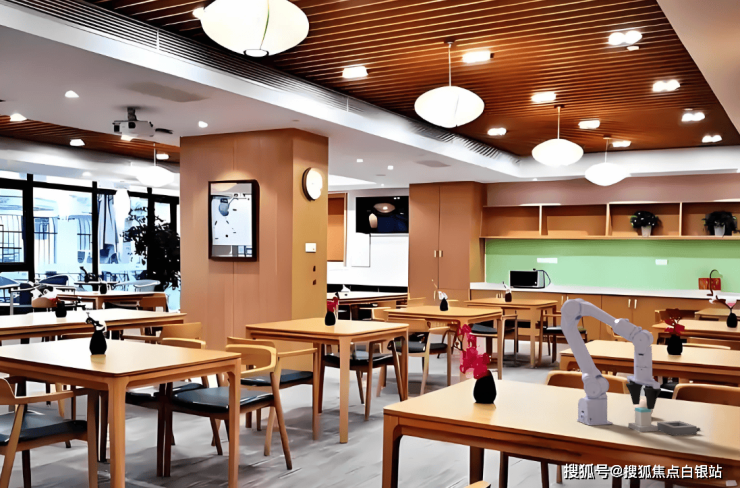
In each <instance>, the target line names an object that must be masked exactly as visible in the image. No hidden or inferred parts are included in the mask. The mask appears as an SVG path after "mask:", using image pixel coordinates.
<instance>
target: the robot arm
mask: <svg viewBox="0 0 740 488" xmlns="http://www.w3.org/2000/svg"><path fill="white" fill-rule="evenodd" d="M560 313H561V314H560V315H561V316H560V330H561V331H562V333H563V335H564V337H565V340H566V341H567V344H568V346H569V348H570V350H571V352H572V354H573V356H574V358H575V361H576V363H577V365H578V367H579V369H580V372H581V381H582V382H583V390H584V393H585V397H581V398H579V400H578V402H577V418H576V421H577V422H580V423H582V424H584V425H588V426H600V425H613V422H612V421H609V420H608V395H607V392H608V390H609V388H610V384H609V383H610V382H609V381H608V379H606V378H607V377H604V376H603V374H602V372H601V371H600V369H598V368H597V367H596V365H595V362H594V360H593V358H592V356H591V354H590V352H589V350H588V348H587V346H586V343H585V341H584V339H583V338H582V335H581V333H580V331H579V329H578V326H579V322H580V321H581V319H582V317H592V318H594V319H596V320H598V321H600V322H602V323H604V324H606V325H607V326H610V327H611V328H612V331H613V333H614V334H617V335H618V336H620V337H621V338H623V339H625V340H626V341H628V342H631V343H632V345H633V346H634V347H633V348H634V349H633V375H627V377H626V380H627V381H626V382H628V383H625V387H626V388H627V390H628V391H629V394H630V397H631V398H630V399H631V401H632V405H633V406H634V405H636V404H639V403H640V400H641V392H642V390H643V392H644V395H645V400H646V402H647V409H653V410H654V409H655V406H656V402H657V399H658V396H659V395H660V393H661V392H662V388H661V382H658V381H656V380H655V379H654V378H653V351H652V349H653V348H652V347H653V346H652V344H653V343H654V336H653V334H652V332H650V331H649V330H648V329H643V327H642V326H640V325H639V326H638V325H635V324H634V323H632V322H630V319H629V318H623V317H622V318H621V317H620V318H617V317H614V316H612V315H611V314H610V313H607V311H604V310H603V309H601V308H599V307H598V306H597V305H595V304H593V303H591V302H590V301H587V300H584V299H583V298H580V297H579V298H578V297H577V298H575V299H573V298H571V299H570V298H569V299H567V300H565V301H564V303H563V304H562V306H561V308H560ZM643 386H645V387H643Z"/></svg>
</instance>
